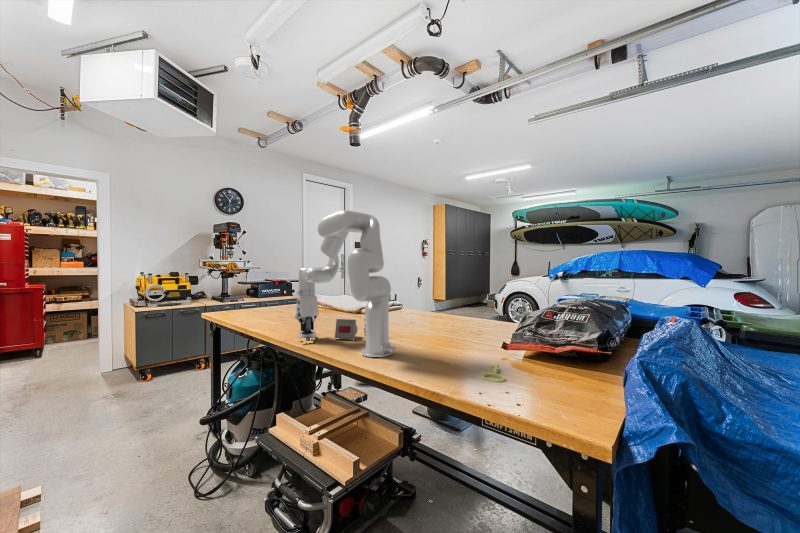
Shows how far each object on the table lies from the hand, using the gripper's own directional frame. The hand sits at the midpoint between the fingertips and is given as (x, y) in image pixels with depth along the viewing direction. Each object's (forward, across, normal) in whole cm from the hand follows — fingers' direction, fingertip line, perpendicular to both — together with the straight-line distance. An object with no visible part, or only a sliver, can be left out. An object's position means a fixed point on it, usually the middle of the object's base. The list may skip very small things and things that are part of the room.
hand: (307, 330), depth 153 cm
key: (+5, +2, -91) cm, 92 cm away
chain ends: (+4, +1, +1) cm, 5 cm away
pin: (+3, 0, 0) cm, 3 cm away
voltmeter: (+5, +16, -21) cm, 27 cm away
